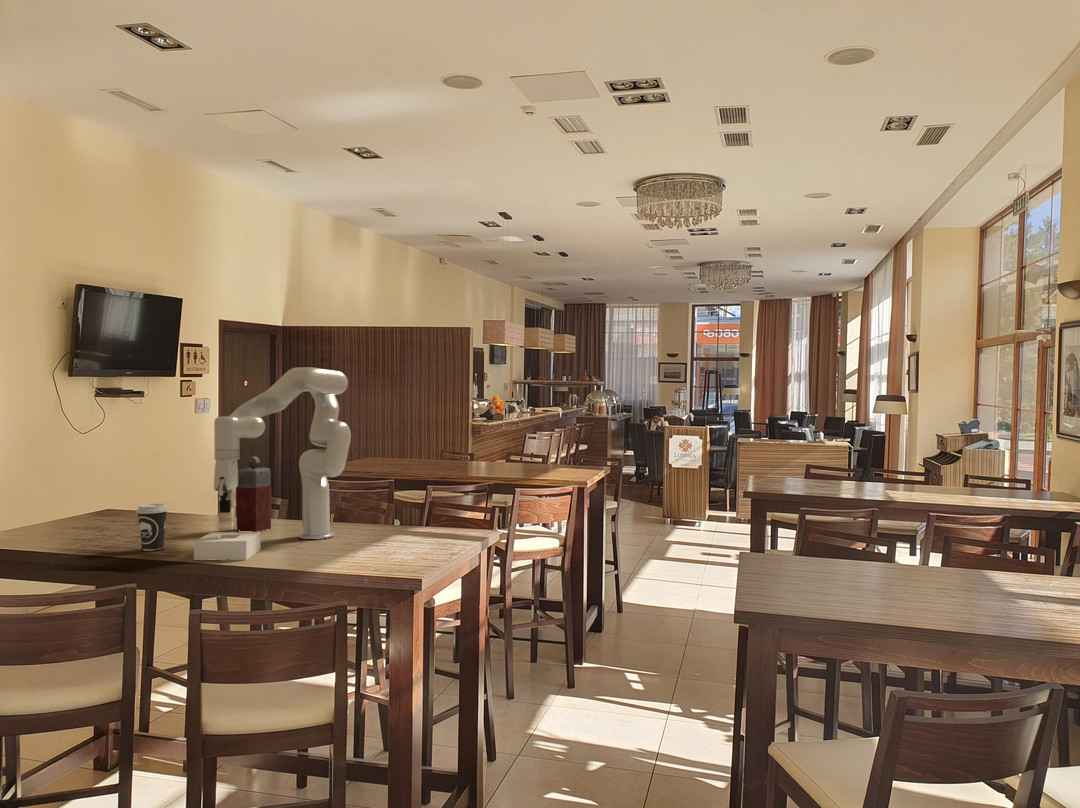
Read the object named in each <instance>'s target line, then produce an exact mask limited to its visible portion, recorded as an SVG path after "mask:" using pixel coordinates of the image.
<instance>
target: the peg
mask: <svg viewBox="0 0 1080 808" xmlns="http://www.w3.org/2000/svg"><path fill="white" fill-rule="evenodd" d="M219 485H220V484H219ZM224 490H227V489H226V488H224ZM224 493H226V495H227V492H224ZM229 500H230V512H229V513H220V510H219V509H218V531H225V530H226V531H231V530H234V529H237V501H236V488H234V489H231V490H230V492H229Z"/></svg>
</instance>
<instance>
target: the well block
mask: <svg viewBox="0 0 1080 808" xmlns="http://www.w3.org/2000/svg"><path fill="white" fill-rule="evenodd" d="M261 546H262V544H261V532H237V531H230V532H229V531H228V532H227V531H224V532H223V531H222V532H221V531H219V532H214V531H213V532H212V531H211V532H209V533H208V534H206V535H204V536H202V537H200V538H198V539H197V540H195V541H193V561H194V560H209V559H220V560H221V561H227V560H226V559H230V560H229V561H247V560H248V558H249V559H250V558H251V557H252V555H253V556H254V555H255V554H257V553H258V552H260V551H261V550H260V549H261V548H262V547H261ZM256 552H257V553H256Z"/></svg>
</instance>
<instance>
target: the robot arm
mask: <svg viewBox="0 0 1080 808" xmlns="http://www.w3.org/2000/svg"><path fill="white" fill-rule="evenodd" d="M348 385H349V381H348V378H347V376H346V375H345V374H344V373H343V372H341V371H339V370H332V369H325V368H318V367H309V366H307V367H306V366H305V367H301V366H300V367H293V368H290V369H289V370H287V372H285V373H284V374H283V375H282V376H280V377H279V379H277V381H275V383H273V384H272V385H271V386H270V387H269V388H268V389H266V390H265V391H264V392H262V393H260V394H258V395H256V396H255V397H253V398H250V399H249V400H247V401H245V402H244V403H242V404H241V405H239V406H238V407H237V408H236V409H235V410H234V411H233V412H231V414H229V416H217V417H216V418H215V419H214V423H213V424H214V426H213V429H214V430H213V431H214V434H213V435H214V450H213V451H214V461H215V463H214V464H215V465H214V474H213V477H214V478H213V479H214V480H213V490H214V491H217V492H218V511H219V510H220V513H229V512H230V500H229V492H230V490H231V489H234V488H236V487H237V486H238V470H239V468H238V460H240V439H242V438H243V439H256V438H259V437H260V436H262V435H263V433H264V432H265V430H266V423H265V422H264V420H263V417H265V416H269V415H272V414H276V413H279V412H281V411H283V410H285V409H286V408H287V407H288V406H289V405H290V404H291V403H292V402H293V401H294V400H295V399H296V398H297V397H299V395H300V394H302V393H303V392H309V393H310V395H311V396H312V398H313V399H314V404H315V406H314V414H313V417H312V422H311V427H310V431H309V440H310V442H311V444H312V445H315V446H316V447H317V446H318V447H325V448H326V449H315V448H313V449H309V450H306V451H304V452H303V453H302V454H301V455H300V457H299V460H298V468H299V472H300V479H301V489H302V490H301V499H302V500H301V506H302V508H301V509H302V510H301V511H302V512H301V513H302V515H301V519H302V532H300V533H298V534H297V537H299V538H298V539H300V538H302V539H301V540H306V539H316V540H325V539H324V538H326V539H329V537H330V538H333V537H334V536H335V532H334V531H332V530H331V526H330V525H331V516H330V515H331V514H330V513H331V511H330V509H331V506H330V505H331V504H330V501H331V499H330V498H331V497H330V492H331V491H330V484H329V481H328V478H336V477H339V476H340V475H342V473H343V472H344V469H345V467H346V465H347V464H346V463H347V459H348V454H349V449H350V446H351V440H352V433H351V429H350V427H349V425H348V424H347V423H346V422H344V421H340V420H339V419H338V418H339V414H340V413H339V412H340V405H339V401H338V399H337V396H336V395H342V394H343V393H345V391H346V390H347V388H348ZM219 484H220V485H219ZM224 488H226V489H227V490H224ZM224 492H227V495H226V493H224ZM332 536H333V537H332Z"/></svg>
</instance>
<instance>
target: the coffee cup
mask: <svg viewBox="0 0 1080 808" xmlns="http://www.w3.org/2000/svg"><path fill="white" fill-rule="evenodd" d="M168 511H169V509H168V507H167V506H166V504H165V503H147V504H145V503H144V504H139V505H138V508H137V510H136V512H135V513H136V514H137V516H138V527H139V534H140V535H139V536H140V544H141V550H142V549H158V548H162V547H165V534H166V532H165V531H166V524H167V514H168V513H167V512H168Z"/></svg>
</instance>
